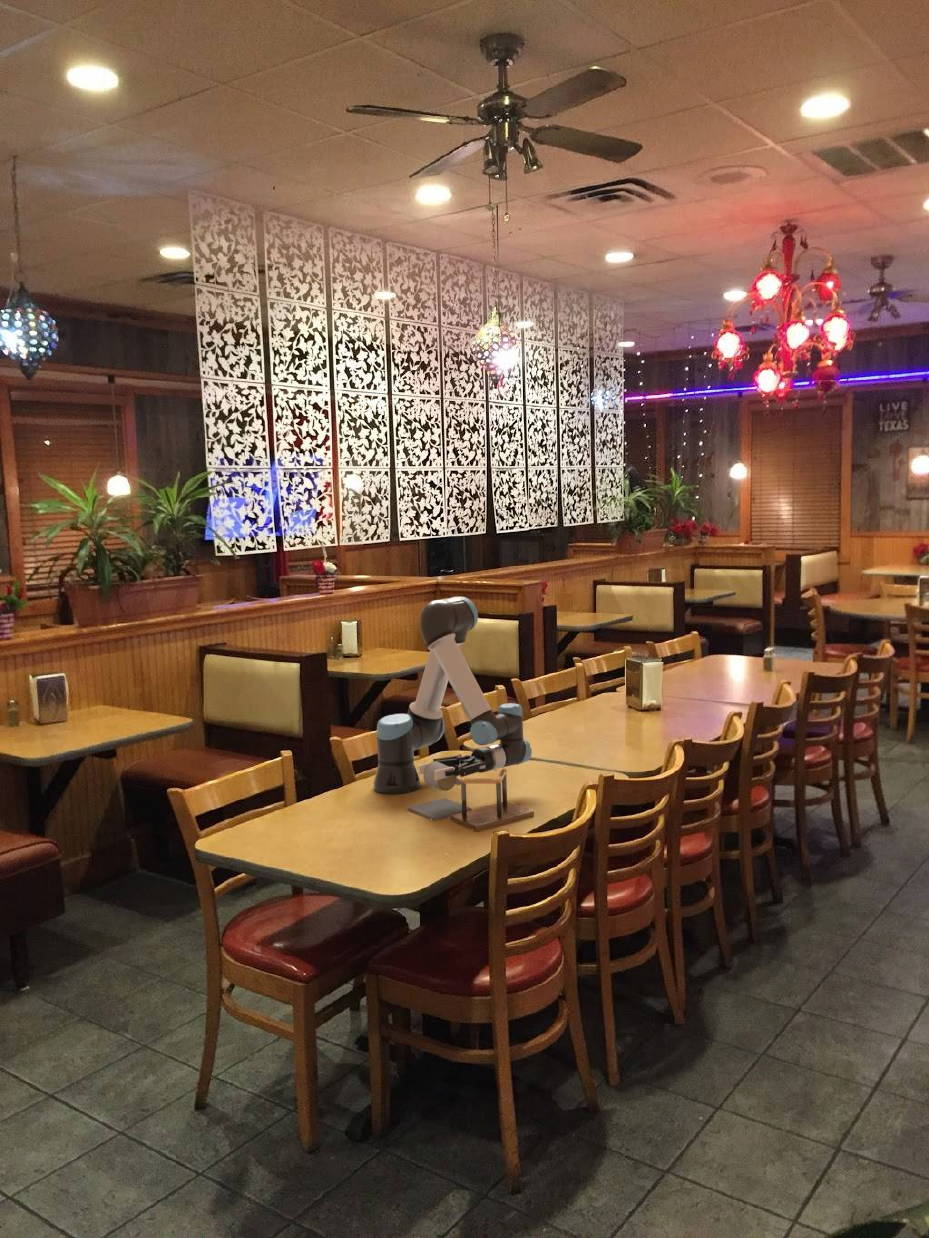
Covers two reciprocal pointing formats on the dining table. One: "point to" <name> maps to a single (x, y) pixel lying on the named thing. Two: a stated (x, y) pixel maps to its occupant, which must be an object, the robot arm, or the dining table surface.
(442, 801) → the rubber mat
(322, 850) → the dining table surface
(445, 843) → the dining table surface
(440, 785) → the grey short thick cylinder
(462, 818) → the bent rail stand
